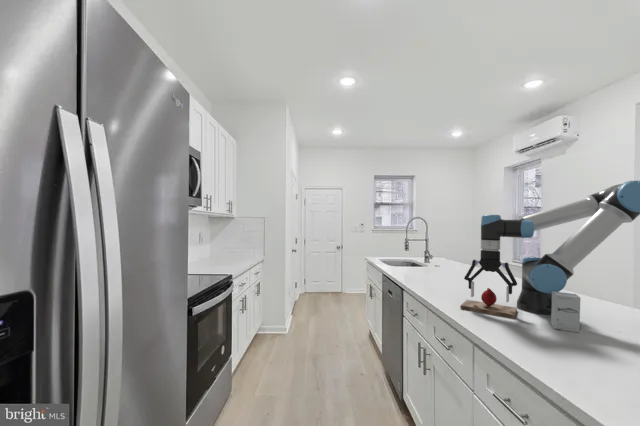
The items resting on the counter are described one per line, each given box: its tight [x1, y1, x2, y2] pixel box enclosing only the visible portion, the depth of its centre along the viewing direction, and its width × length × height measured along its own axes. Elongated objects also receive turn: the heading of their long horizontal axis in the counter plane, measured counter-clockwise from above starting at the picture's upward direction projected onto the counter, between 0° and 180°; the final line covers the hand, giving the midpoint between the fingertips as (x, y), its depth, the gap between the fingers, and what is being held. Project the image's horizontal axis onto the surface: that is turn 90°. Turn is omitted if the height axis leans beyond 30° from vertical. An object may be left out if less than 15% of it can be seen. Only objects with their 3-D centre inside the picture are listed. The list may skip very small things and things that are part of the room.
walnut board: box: [459, 299, 518, 319], centre depth 138 cm, size 20×14×2 cm
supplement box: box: [550, 291, 581, 334], centre depth 117 cm, size 7×7×13 cm
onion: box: [480, 287, 498, 307], centre depth 139 cm, size 6×6×8 cm
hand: (489, 299), depth 138 cm, fingers open, 13 cm apart
